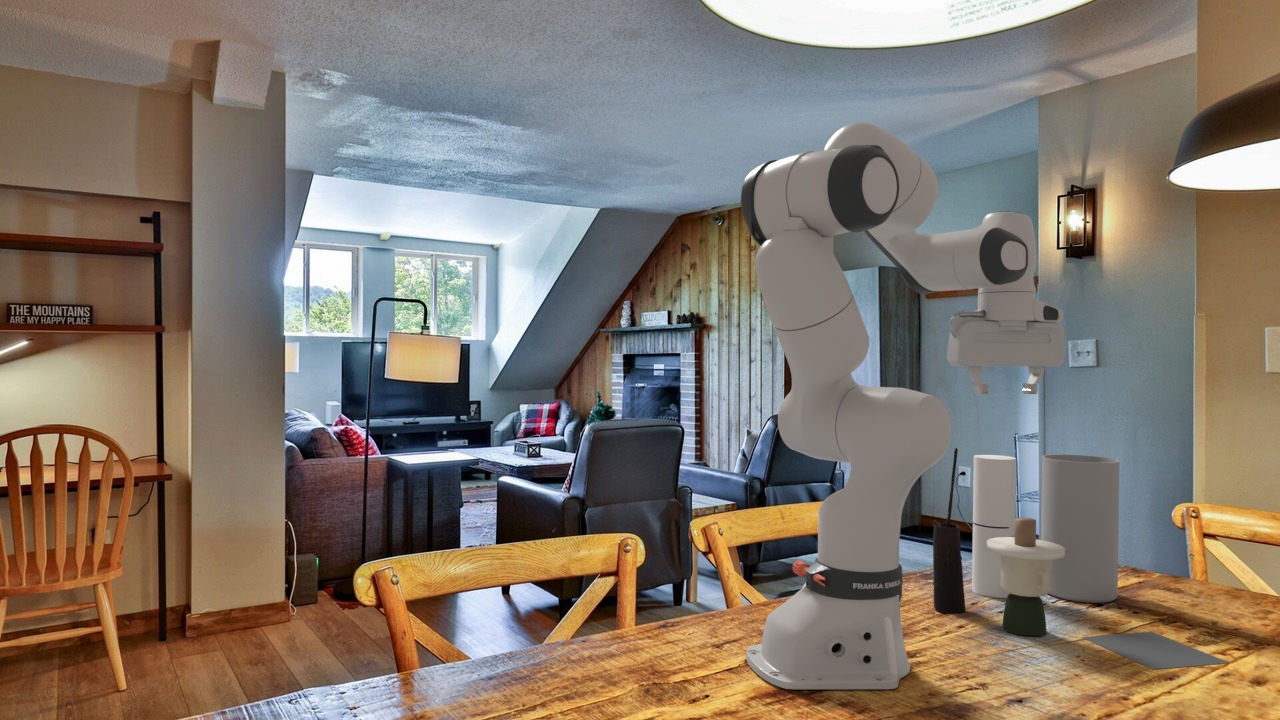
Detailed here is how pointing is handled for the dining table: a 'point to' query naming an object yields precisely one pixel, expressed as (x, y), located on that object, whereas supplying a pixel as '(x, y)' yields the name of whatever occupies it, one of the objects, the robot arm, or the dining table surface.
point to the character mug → (1025, 594)
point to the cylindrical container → (991, 519)
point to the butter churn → (948, 562)
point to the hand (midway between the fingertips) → (1005, 394)
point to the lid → (1025, 543)
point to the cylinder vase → (1082, 525)
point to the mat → (1154, 650)
